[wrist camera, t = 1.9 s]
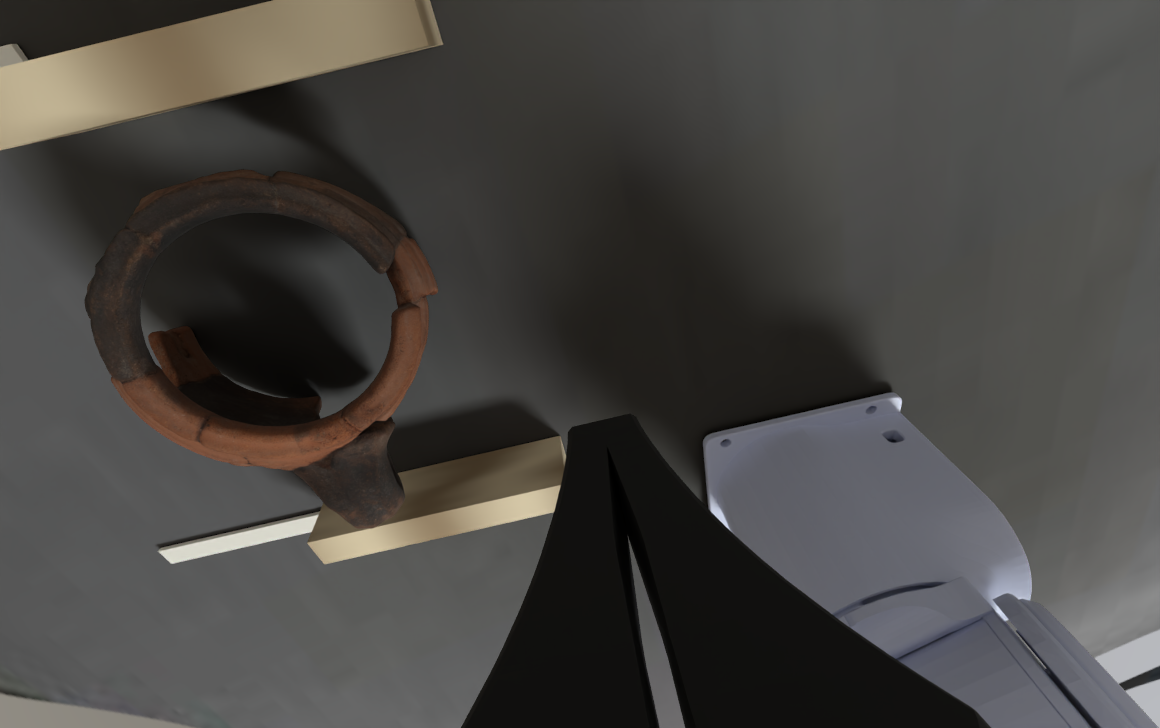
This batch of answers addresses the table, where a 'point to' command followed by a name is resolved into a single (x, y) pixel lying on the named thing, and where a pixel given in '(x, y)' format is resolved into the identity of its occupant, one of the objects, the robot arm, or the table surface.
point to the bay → (226, 540)
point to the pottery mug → (247, 418)
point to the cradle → (247, 63)
